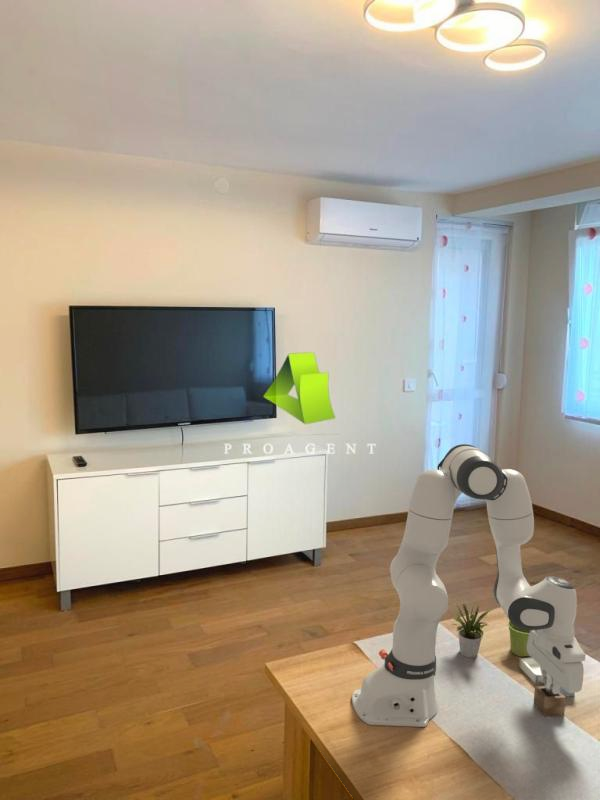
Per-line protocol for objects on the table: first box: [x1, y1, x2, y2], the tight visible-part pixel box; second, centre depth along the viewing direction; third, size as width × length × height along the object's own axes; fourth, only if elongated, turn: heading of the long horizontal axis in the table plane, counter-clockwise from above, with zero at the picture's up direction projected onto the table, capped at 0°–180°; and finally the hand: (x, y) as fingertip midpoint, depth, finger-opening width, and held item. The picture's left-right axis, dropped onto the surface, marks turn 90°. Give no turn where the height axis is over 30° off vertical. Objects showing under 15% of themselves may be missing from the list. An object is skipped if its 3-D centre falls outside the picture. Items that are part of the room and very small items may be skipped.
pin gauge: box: [545, 673, 555, 697], centre depth 167 cm, size 2×2×9 cm
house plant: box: [449, 599, 494, 658], centre depth 194 cm, size 14×14×16 cm
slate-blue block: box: [544, 684, 576, 697], centre depth 176 cm, size 6×6×5 cm
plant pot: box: [507, 619, 531, 658], centre depth 196 cm, size 9×9×9 cm
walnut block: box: [533, 685, 567, 718], centre depth 167 cm, size 6×6×5 cm
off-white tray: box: [518, 657, 544, 684], centre depth 185 cm, size 11×9×2 cm
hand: (550, 688), depth 167 cm, fingers open, 2 cm apart
